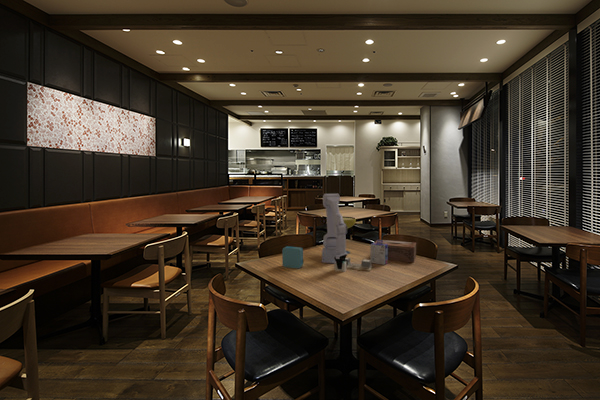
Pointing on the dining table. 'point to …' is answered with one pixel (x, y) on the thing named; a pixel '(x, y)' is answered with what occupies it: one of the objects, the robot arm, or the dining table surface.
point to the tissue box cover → (401, 250)
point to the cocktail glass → (349, 224)
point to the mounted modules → (363, 263)
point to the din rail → (357, 265)
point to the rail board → (359, 268)
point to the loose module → (342, 267)
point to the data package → (292, 257)
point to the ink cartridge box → (379, 253)
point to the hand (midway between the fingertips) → (340, 267)
